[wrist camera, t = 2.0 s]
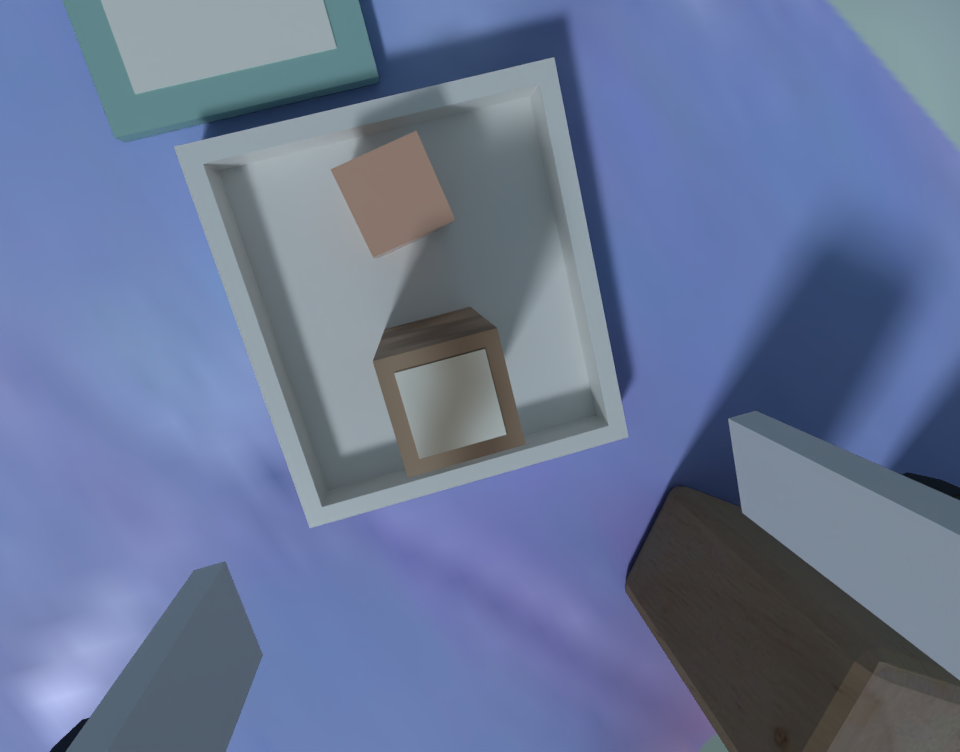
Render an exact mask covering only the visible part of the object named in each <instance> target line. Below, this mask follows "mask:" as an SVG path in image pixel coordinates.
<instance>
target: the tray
mask: <svg viewBox="0 0 960 752" xmlns="http://www.w3.org/2000/svg"><path fill="white" fill-rule="evenodd" d="M414 131H417V133H418V135H419V138H420V140H421V142H422V144H423V147H424V149H425V151H426V154H427V156H428V158H429V160H430V163H431V165H432V167H433V170H434V172H435V174H436V176H437V179H438V181H439V183H440V186H441V188H442V190H443V192H444V195H445V197H446V199H447V202H448V204H449V206H450V208H451V211H452V213H453V215H454V218H455V221H454V222H453V223H452V224H450V225H449V226H448V227H446V228H444V229H441V230H439V231H437V232H435V233H433V234H430V235H428V236H426V237H424V238H422V239H420V240H417V241H415V242H413V243H411V244H409V245H406V246H404V247H402V248H400V249H398V250H396V251H393V252H391V253H389V254H387V255H385V256H382V257H380V258H373V256H372V254H371V252H370V250H369V248H368V246H367V244H366V242H365V240H364V238H363V236H362V234H361V231H360V229H359V227H358V225H357V223H356V221H355V219H354V217H353V215H352V213H351V211H350V209H349V207H348V205H347V203H346V200H345V198H344V196H343V194H342V192H341V190H340V188H339V186H338V184H337V182H336V180H335V178H334V176H333V174H332V171H331V169H332V168H335V167H337V166H339V165H341V164H344V163H346V162H348V161H350V160H352V159H355V158H357V157H359V156H361V155H363V154H366V153H368V152H370V151H372V150H374V149H377V148H379V147H381V146H383V145H386V144H388V143H390V142H392V141H394V140H397V139H399V138H401V137H403V136H405V135H408V134H410V133H412V132H414ZM174 148H175V151H176V154H177V157H178V159H179V162H180V165H181V168H182V171H183V173H184V176H185V179H186V182H187V185H188V187H189V190H190V193H191V196H192V199H193V201H194V204H195V207H196V210H197V213H198V216H199V218H200V221H201V224H202V227H203V230H204V232H205V235H206V238H207V241H208V244H209V246H210V249H211V252H212V255H213V258H214V260H215V263H216V266H217V269H218V272H219V274H220V277H221V280H222V283H223V286H224V289H225V291H226V294H227V297H228V300H229V303H230V305H231V308H232V311H233V314H234V317H235V319H236V322H237V325H238V328H239V331H240V333H241V336H242V339H243V342H244V345H245V347H246V350H247V353H248V356H249V359H250V362H251V364H252V367H253V370H254V373H255V376H256V378H257V381H258V384H259V387H260V390H261V392H262V395H263V398H264V401H265V404H266V406H267V409H268V412H269V415H270V418H271V420H272V423H273V426H274V429H275V432H276V434H277V437H278V440H279V443H280V446H281V449H282V451H283V454H284V457H285V460H286V463H287V465H288V468H289V471H290V474H291V477H292V479H293V482H294V485H295V488H296V491H297V493H298V496H299V499H300V502H301V505H302V507H303V510H304V513H305V516H306V519H307V522H308V524H309V527H310V528H313V527H316V526H320V525H323V524H327V523H330V522H334V521H337V520H341V519H344V518H347V517H351V516H354V515H358V514H361V513H365V512H368V511H372V510H375V509H379V508H382V507H386V506H389V505H393V504H396V503H400V502H403V501H407V500H410V499H414V498H417V497H421V496H424V495H428V494H431V493H435V492H438V491H442V490H445V489H449V488H452V487H456V486H459V485H463V484H466V483H470V482H473V481H477V480H480V479H484V478H487V477H491V476H494V475H498V474H501V473H505V472H508V471H512V470H515V469H519V468H522V467H526V466H529V465H533V464H536V463H540V462H543V461H547V460H550V459H554V458H557V457H561V456H564V455H568V454H571V453H575V452H578V451H582V450H585V449H589V448H592V447H596V446H599V445H603V444H606V443H610V442H613V441H617V440H620V439H624V438H627V437H628V432H627V427H626V422H625V417H624V412H623V407H622V402H621V396H620V391H619V386H618V381H617V376H616V371H615V366H614V361H613V356H612V350H611V345H610V340H609V335H608V330H607V325H606V320H605V315H604V309H603V304H602V299H601V294H600V289H599V284H598V279H597V274H596V269H595V263H594V258H593V253H592V248H591V243H590V238H589V233H588V228H587V222H586V217H585V212H584V207H583V202H582V197H581V192H580V187H579V181H578V176H577V171H576V166H575V161H574V156H573V151H572V146H571V141H570V135H569V130H568V125H567V120H566V115H565V110H564V105H563V100H562V94H561V89H560V84H559V79H558V74H557V69H556V64H555V59H554V57H553V58H549V59H544V60H540V61H536V62H532V63H527V64H523V65H519V66H515V67H510V68H506V69H502V70H498V71H493V72H489V73H485V74H481V75H476V76H472V77H468V78H464V79H459V80H455V81H451V82H447V83H442V84H438V85H434V86H430V87H425V88H421V89H417V90H413V91H408V92H404V93H400V94H396V95H391V96H387V97H383V98H379V99H374V100H370V101H366V102H362V103H357V104H353V105H349V106H345V107H340V108H336V109H332V110H328V111H323V112H319V113H315V114H311V115H306V116H302V117H298V118H294V119H289V120H285V121H281V122H277V123H272V124H268V125H264V126H260V127H255V128H251V129H247V130H243V131H238V132H234V133H230V134H226V135H221V136H217V137H213V138H209V139H204V140H200V141H196V142H192V143H187V144H183V145H179V146H175V147H174ZM467 307H471V308H473V309H474V310H475V311H476V312H478V313H479V314H480V315H481V316H483V317H484V318H485V319H486V320H488V321H489V322H490V323H492V324H493V325H494V326H495V327H497V329H498V333H499V337H500V342H501V346H502V350H503V354H504V358H505V362H506V366H507V370H508V374H509V379H510V383H511V387H512V391H513V395H514V399H515V403H516V407H517V411H518V416H519V420H520V424H521V428H522V432H523V436H524V440H525V444H526V445H522V446H519V447H515V448H512V449H508V450H505V451H501V452H498V453H494V454H491V455H487V456H484V457H480V458H477V459H473V460H469V461H466V462H462V463H459V464H455V465H452V466H448V467H445V468H441V469H438V470H434V471H431V472H427V473H424V474H420V475H417V476H413V477H409V478H408V477H407V473H406V470H405V467H404V463H403V460H402V457H401V454H400V450H399V447H398V444H397V440H396V437H395V434H394V430H393V427H392V424H391V420H390V417H389V414H388V411H387V407H386V404H385V401H384V397H383V394H382V391H381V387H380V384H379V381H378V377H377V374H376V371H375V367H374V364H373V359H374V356H375V354H376V351H377V348H378V345H379V343H380V340H381V337H382V335H383V332H384V329H387V328H391V327H395V326H399V325H403V324H406V323H410V322H414V321H418V320H421V319H425V318H429V317H433V316H437V315H440V314H444V313H448V312H452V311H456V310H459V309H463V308H467Z"/></svg>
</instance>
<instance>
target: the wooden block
mask: <svg viewBox="0 0 960 752" xmlns="http://www.w3.org/2000/svg"><path fill="white" fill-rule="evenodd" d="M625 590H626V593H627V595H628V596H629V598H630V599H631V601H632V603H633V604H634V606H635V607H636V609H637V610H638V612H639V613H640V615H641V617H642V618H643V620H644V621H645V623H646V624H647V626H648V627H649V629H650V630H651V632H652V634H653V635H654V637H655V638H656V640H657V641H658V643H659V644H660V646H661V647H662V649H663V651H664V652H665V654H666V655H667V657H668V658H669V660H670V661H671V663H672V664H673V666H674V668H675V669H676V671H677V672H678V674H679V675H680V677H681V678H682V680H683V681H684V683H685V685H686V686H687V688H688V689H689V691H690V692H691V694H692V695H693V697H694V698H695V700H696V702H697V703H698V705H699V706H700V708H701V709H702V711H703V712H704V714H705V715H706V717H707V719H708V720H709V722H710V723H711V725H712V726H713V728H714V729H715V731H716V733H717V734H718V736H719V737H720V739H721V740H722V742H723V743H724V744H725V746H726V748H727V750H728V751H729V752H960V680H959V679H957V678H956V677H955V676H953V675H952V674H951V673H950V672H948V671H947V670H946V669H944V668H943V667H942V666H940V665H939V664H938V663H937V662H935V661H934V660H933V659H931V658H930V657H929V656H927V655H926V654H925V653H924V652H922V651H921V650H920V649H918V648H917V647H916V646H914V645H913V644H912V643H911V642H909V641H908V640H907V639H905V638H904V637H903V636H902V635H900V634H899V633H898V632H896V631H895V630H894V629H892V628H891V627H890V626H889V625H887V624H886V623H885V622H883V621H882V620H881V619H879V618H878V617H877V616H876V615H874V614H873V613H872V612H870V611H869V610H868V609H866V608H865V607H864V606H863V605H861V604H860V603H859V602H857V601H856V600H855V599H853V598H852V597H851V596H850V595H848V594H847V593H846V592H844V591H843V590H842V589H840V588H839V587H838V586H837V585H835V584H834V583H833V582H831V581H830V580H829V579H828V578H826V577H825V576H824V575H822V574H821V573H820V572H818V571H817V570H816V569H815V568H813V567H812V566H811V565H809V564H808V563H807V562H805V561H804V560H803V559H802V558H800V557H799V556H798V555H796V554H795V553H794V552H792V551H791V550H790V549H789V548H787V547H786V546H785V545H783V544H782V543H781V542H779V541H778V540H777V539H776V538H774V537H773V536H772V535H770V534H769V533H768V532H766V531H765V530H764V529H763V528H761V527H760V526H759V525H757V524H756V523H755V522H754V521H752V520H751V519H750V518H748V517H747V516H746V515H744V514H743V513H742V508H741V507H739V506H736V505H734V504H731V503H729V502H726V501H723V500H721V499H718V498H715V497H713V496H710V495H707V494H705V493H702V492H700V491H697V490H694V489H692V488H689V487H680V486H675V487H674V488H673V489H672V490H671V491H670V492H669V494H668V496H667V498H666V500H665V502H664V504H663V506H662V508H661V510H660V512H659V514H658V516H657V518H656V520H655V522H654V524H653V526H652V528H651V530H650V532H649V534H648V536H647V538H646V540H645V542H644V544H643V546H642V548H641V550H640V552H639V555H638V557H637V559H636V561H635V563H634V565H633V567H632V569H631V571H630V573H629V575H628V577H627V579H626V584H625Z"/></svg>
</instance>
